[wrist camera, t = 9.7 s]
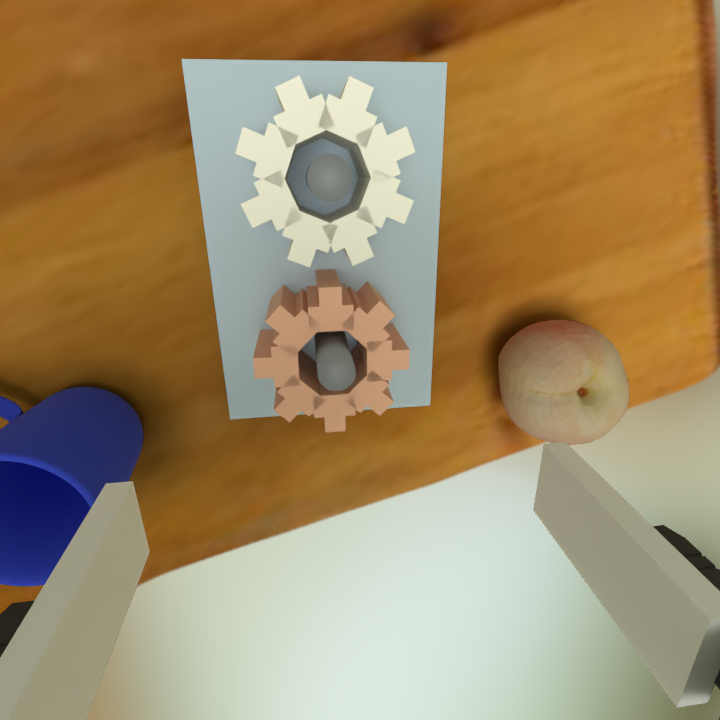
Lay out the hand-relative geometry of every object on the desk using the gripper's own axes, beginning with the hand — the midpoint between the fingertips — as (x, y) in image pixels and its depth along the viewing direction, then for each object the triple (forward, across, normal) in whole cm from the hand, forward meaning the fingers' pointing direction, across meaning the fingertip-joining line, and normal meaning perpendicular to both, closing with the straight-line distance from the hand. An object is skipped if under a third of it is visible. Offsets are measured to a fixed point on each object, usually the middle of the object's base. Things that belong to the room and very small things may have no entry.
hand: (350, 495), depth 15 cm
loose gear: (+16, 0, 0) cm, 16 cm away
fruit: (+18, +16, -3) cm, 24 cm away
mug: (+18, -17, -5) cm, 26 cm away
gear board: (+18, +1, +5) cm, 18 cm away
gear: (+16, +1, +10) cm, 19 cm away
